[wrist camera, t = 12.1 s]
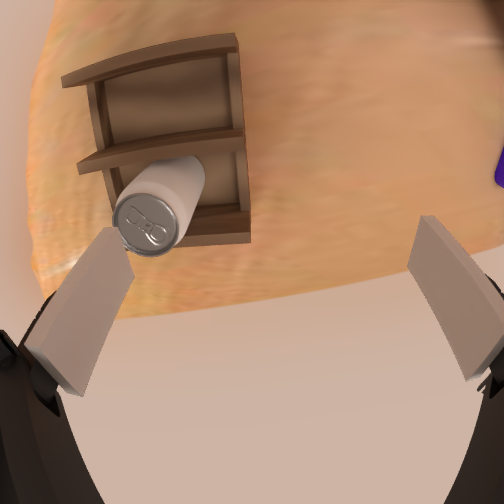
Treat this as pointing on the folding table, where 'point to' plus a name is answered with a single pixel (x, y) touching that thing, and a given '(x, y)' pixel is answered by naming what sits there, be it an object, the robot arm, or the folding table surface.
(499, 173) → the bracket
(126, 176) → the rack
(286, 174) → the folding table surface
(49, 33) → the folding table surface
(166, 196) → the can
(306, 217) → the folding table surface
